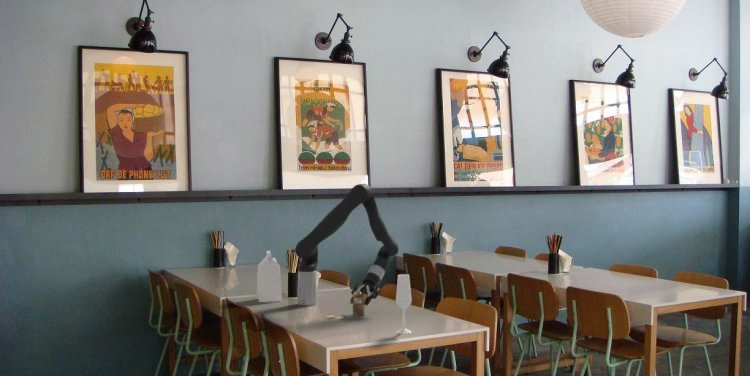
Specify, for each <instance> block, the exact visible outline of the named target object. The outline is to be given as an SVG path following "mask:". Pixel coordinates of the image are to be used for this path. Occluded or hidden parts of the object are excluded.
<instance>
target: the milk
mask: <svg viewBox="0 0 750 376" xmlns="http://www.w3.org/2000/svg"><path fill="white" fill-rule="evenodd" d="M256 276H257V278H256V279H257V280H256V300H257V299H258V300H259V301H258V300H257V301H258V303H260V302H263V303H276V302H277V303H278V301H280V302H283V301H282V300H283V299H282V298H283V297H282V281H281V280H282V277H281V266H280V264H279V263H278V260H277V259H276V258H275V257H273V256H272V252H271V251H270V250H267V251H266V256H264V258H263V259H262V260H261V261H260V262H259V263H258V265H257V275H256Z"/></svg>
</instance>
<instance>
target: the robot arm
mask: <svg viewBox="0 0 750 376" xmlns="http://www.w3.org/2000/svg"><path fill="white" fill-rule="evenodd" d="M361 204H362V205H363V207H364V210H365V212H366V214H367V219H368V223H369V227H370V230H371V231H372V234H373V237H375V240H376V241H378V242H381V244H382V246H381V247H380V248H379V250H378V251H377V255H376V259H375V260H374V262H373V263H372V265H371V266H370V268H369V269H368V271H367V273H366V274H365V276H364V278H363V280H362V283H363V284H362V283H360V284H359V282H357V283H356V284H355V285H354V287H353V288H352V290H351V292H350V294H351V295H352V296H351V298H350V302H351V304H352V305H353V294H354V293H360V292H359V291H360V290H361V293H365V294H366V295H368V297H367V298H366V300H365V302H364V304H365V306H366V307H367V306H368V305H369V304H370V303H371V300H373V299H374V300H376V299H377V297H378V295H379V294H380V291H381V288H380V286H379V284H380V283H381V281H382V279H383V278H384V275H385V273H386V271H387V270H388V267H389V265H390V263H389V262H390V259H391V258H393V257H395V256H396V255H398V254H399V245H398V243H397V242H396V240H395V239H394V238H393V236H392V235H391V234H390V233H389V231H388V229H387V227H386V224H385V222H384V220H383V218H382V215H381V213H380V210H379V208H378V205H377V203H376V199H375V195H374V192H373V189H372V187H371V186H370V185H369V184H367V183H358V184H355V185H354V186H353V187H352V188H351V189H350V190H349V191H348V193H347V195H345V197H344V198H343V199H342V200H341V201H340V202H339V203H338V204H337V205H335V207H333V208H332V210H330V211H329V212H328V213H327V214H326V215H325V217H323V218H322V220H321V221H320V222H319V223H318V224H317V225H316V226H315V227H314V228H313V229H312V230H311V231H310V233H308V234H307V235H306V236H305V237H303V238H302V239H301V240H299V242H298V243H297V244H296V246H295V248H294V249H295V255H296V256H297V257H298V258H300V259H301V261H300V263H299V265H298V267H297V268H298V269H297V271H298V272H297V273H298V275H297V276H298V278H297V279H298V280H297V281H298V282H297V289H296V290H297V306H305V307H306V306H309V307H310V306H315V305H317V302H318V300H317V267H318V264H319V263H318V262H319V248H318V247H319V246H318V245H319V244H321V243H322V242H323V241H324V240H326V239H328V238H329V237H331V236H333V235H334V234H335V233H336V232H337V231H338V230H340V229H341V227H342V226H344V224H345V222H347V220H348V218H349V216H350V214H351V213H352V212H353V211H354V210H356V208H357V207H358V206H360V205H361Z"/></svg>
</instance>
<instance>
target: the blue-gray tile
mask: <svg viewBox="0 0 750 376" xmlns="http://www.w3.org/2000/svg"><path fill="white" fill-rule="evenodd" d="M372 316H373V312H365V314H364V316H353V312H347V313H346V314H345V316H344V318H355V319H356V318H357V319H358V318H362V319H364V318H366V319H369V318H370V319H371V317H372Z"/></svg>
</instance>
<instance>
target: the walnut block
mask: <svg viewBox="0 0 750 376" xmlns="http://www.w3.org/2000/svg"><path fill="white" fill-rule="evenodd" d="M352 296H353V304H352V313H353V316H364V314H365V313H366V311H365V309H366V307H365V306H366V305H365V304H364V302H365V293H354V294H353V295H352Z"/></svg>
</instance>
